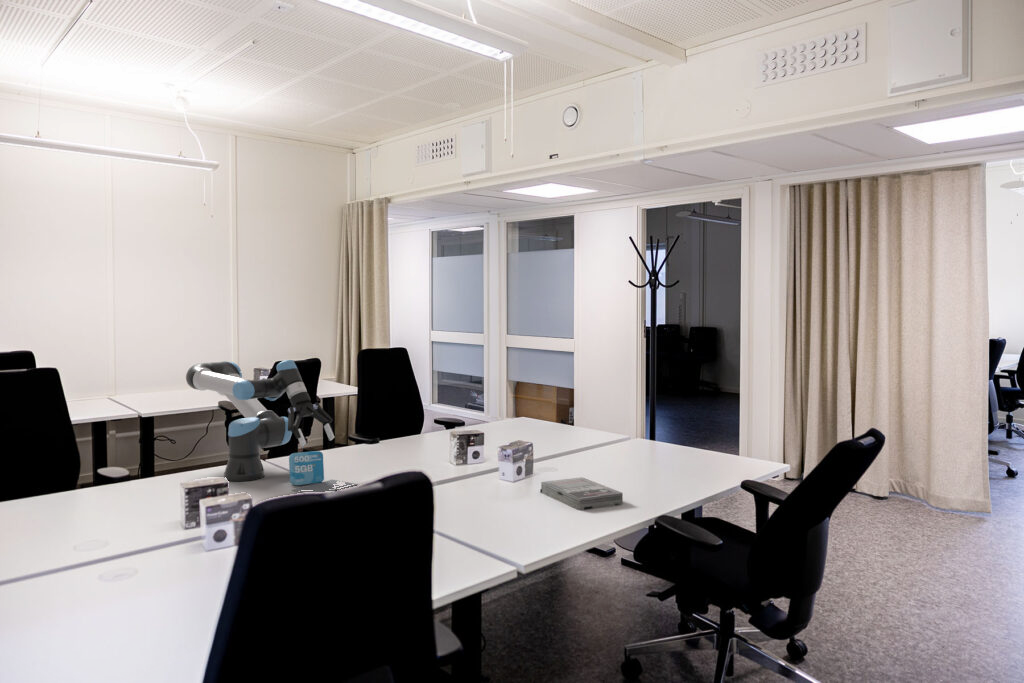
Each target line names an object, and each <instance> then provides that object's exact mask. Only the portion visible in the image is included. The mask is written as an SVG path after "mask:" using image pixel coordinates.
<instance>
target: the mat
mask: <svg viewBox="0 0 1024 683" xmlns="http://www.w3.org/2000/svg"><path fill="white" fill-rule="evenodd" d="M337 481H339V482H340V481H342V482H345V484H346V485H343V486H339V485H335V486H339V487H336V489H335V490H339V489H337V488H340V487H344V486H347V485H351V486H348V487H350V488H353V487H357V486H359V483H354V482H349V481H343V480H337V479H329V480H325V481H324V480H323V481H322V482H320V483H312V484H307V485H305V486H304V485H303V486H300V487H298V488H292V489H291V492H295V491H300V492H299V494H303V493H302V492H325V491H335V490H329V489H334V488H332V487H334V485H333V484H337V483H336V482H337ZM352 484H354V485H352ZM356 485H357V486H356ZM352 486H353V487H352ZM348 487H344V488H346V489H349V488H348ZM341 489H342V490H344V489H343V488H341ZM301 490H313V491H301ZM339 491H340V490H339ZM335 492H336V491H335Z"/></svg>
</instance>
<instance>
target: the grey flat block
mask: <svg viewBox="0 0 1024 683" xmlns="http://www.w3.org/2000/svg"><path fill="white" fill-rule="evenodd" d="M540 487H541V488H540V489H539V491H540V492H539V493H541V494H543V495H544V496H547V497H549V498H551V499H553V500H555V501H558V502H559V503H562V504H564V505H566V506H568V507H571V508H573V509H575V510H577V511H585V510H587V511H588V510H594V509H601V508H606V507H607V508H608V507H615V506H616V507H617V506H622V505H623V498H624V497H623V492H621V491H619V490H617V489H614V488H611V487H608V486H605V485H603V484H601V483H598V482H596V481H593V480H590V479H588V478H585V477H572V478H564V479H555V480H545V481H541V486H540Z"/></svg>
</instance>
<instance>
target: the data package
mask: <svg viewBox="0 0 1024 683" xmlns="http://www.w3.org/2000/svg"><path fill="white" fill-rule="evenodd" d="M288 462H289V464H288V465H289V482H290V484H291V485H292V486H293V485H294V486H304V485H312V484H316V483H320V482H324V480H325V470H324V454H323V452H322V451H320V450H319V451H318V450H313V451H303V452H293V453H291V454H290V455H289V456H288Z"/></svg>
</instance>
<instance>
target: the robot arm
mask: <svg viewBox="0 0 1024 683" xmlns="http://www.w3.org/2000/svg"><path fill="white" fill-rule="evenodd" d="M275 368H276V371H277V373H276V374H275V375H274V376H273V377H271V378H263V379H260V378H259V379H247V378H243V374H242V371H241V368H240V366H239V365H238V364H237V363H235V362H233V361H221V362H220V361H218V362H199V363H196V364H194V365H192V366H191V367H190V368H189V369H188V370H187V371H186V374H185V380H186V383H187V385H188V387H190V388H192V389H194V390H198V391H207V390H208V391H212V392H217V393H218V395H220V396H225V397H226V398H227V399H228V400H229V402H231V404H232V405H233V406H234V407H235V408H236V409H237V410H238V412H239V413H240V414H241V415H242V416H243V417H244V418H243V417H242V418H238V419H235V420H232V421H231V422H230V423H229V425H228V432H227V436H228V460H227V463H226V466H225V469H224V471H223V472H224V473H223V478H224V477H226V478H227V479H228V480H229V482H248V481H255V480H259V479H258V478H260V479H262V478H264V477H265V469H264V465H263V463H262V460H261V457H260V456H261V455H260V450H261V449H264V448H265V449H266V448H273V447H279V446H282V445H285V444H287V443H289V441H291V437H292V434H294V436H295V439H298V443H299V445H300V447H305V445H306V444H307V441H306V439H305V436H304V434H303V432H302V429H301V428H299V427H300V423H301V420H302V418H306V417H312V418H314V419H315V420H316V421H318V422H320V423H321V424H323V428H324V431H325V433H326V435H327V438H328V441H332V440H333V439H334V438H335V435H334V432H333V428H332V425H331V423H332V422H333V421H334V419H333V418H332V417H331V415H329V414H328V412H326V411H325V410H324V409H323V407H321V405H320V404H319V402H315V403H314V404H313V403H312V402H311V397H310V394H309V392H308V391H307V388H306V386H305V383H304V381H303V379H302V376H301V374H300V371H299V368H298V367H297V364H296V363H295V361H294V360H292V359H285V360H283V361H281V362H279V363H278V364H277V365H276V367H275ZM285 392H286V394H287V397H288V399H289V402H290V403H291V404H290V405H291V406H290V407H289V408H288V409H287V414H288V415H287V416H288V417H287V416H279V415H278V414H277V413H275V412H274V411H273V410H270V409H269V410H268V409H267V408H266V407H265V406H264V405H263V404H262V403H261V402H260V401H259V400H258V399H263V398H264V399H266V400H269V402H274V401H276V400H277V399H279V398H281V397H282V396H283V394H284V393H285ZM295 413H296V417H295ZM263 476H264V477H263ZM261 477H262V478H261ZM254 479H255V480H254ZM228 480H227V481H228Z"/></svg>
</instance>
